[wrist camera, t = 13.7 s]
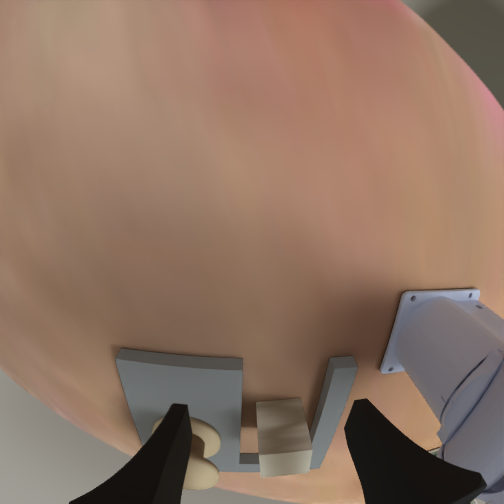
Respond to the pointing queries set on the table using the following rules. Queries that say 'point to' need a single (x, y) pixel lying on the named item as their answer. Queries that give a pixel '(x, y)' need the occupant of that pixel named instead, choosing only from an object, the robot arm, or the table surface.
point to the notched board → (220, 399)
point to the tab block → (283, 438)
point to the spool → (200, 455)
